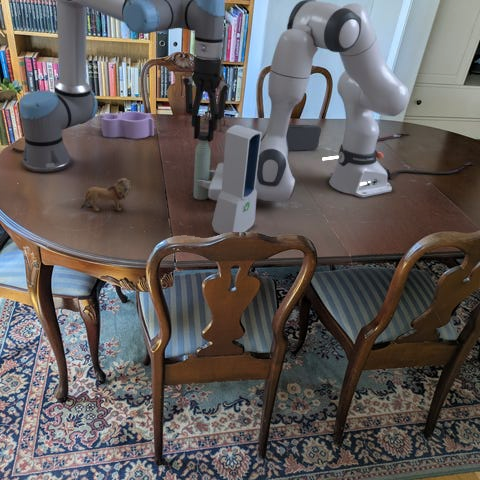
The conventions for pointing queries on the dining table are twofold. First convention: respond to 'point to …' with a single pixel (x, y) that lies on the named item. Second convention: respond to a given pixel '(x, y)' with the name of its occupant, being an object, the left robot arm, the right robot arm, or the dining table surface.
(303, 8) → the right robot arm
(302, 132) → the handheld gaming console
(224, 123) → the eiffel tower model
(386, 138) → the sword
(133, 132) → the clip
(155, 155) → the dining table surface
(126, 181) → the lion figurine
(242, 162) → the electronic device
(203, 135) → the cap
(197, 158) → the bottle
